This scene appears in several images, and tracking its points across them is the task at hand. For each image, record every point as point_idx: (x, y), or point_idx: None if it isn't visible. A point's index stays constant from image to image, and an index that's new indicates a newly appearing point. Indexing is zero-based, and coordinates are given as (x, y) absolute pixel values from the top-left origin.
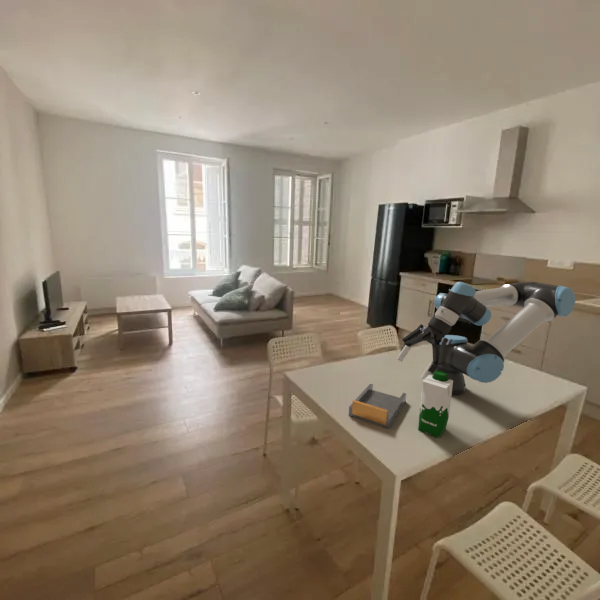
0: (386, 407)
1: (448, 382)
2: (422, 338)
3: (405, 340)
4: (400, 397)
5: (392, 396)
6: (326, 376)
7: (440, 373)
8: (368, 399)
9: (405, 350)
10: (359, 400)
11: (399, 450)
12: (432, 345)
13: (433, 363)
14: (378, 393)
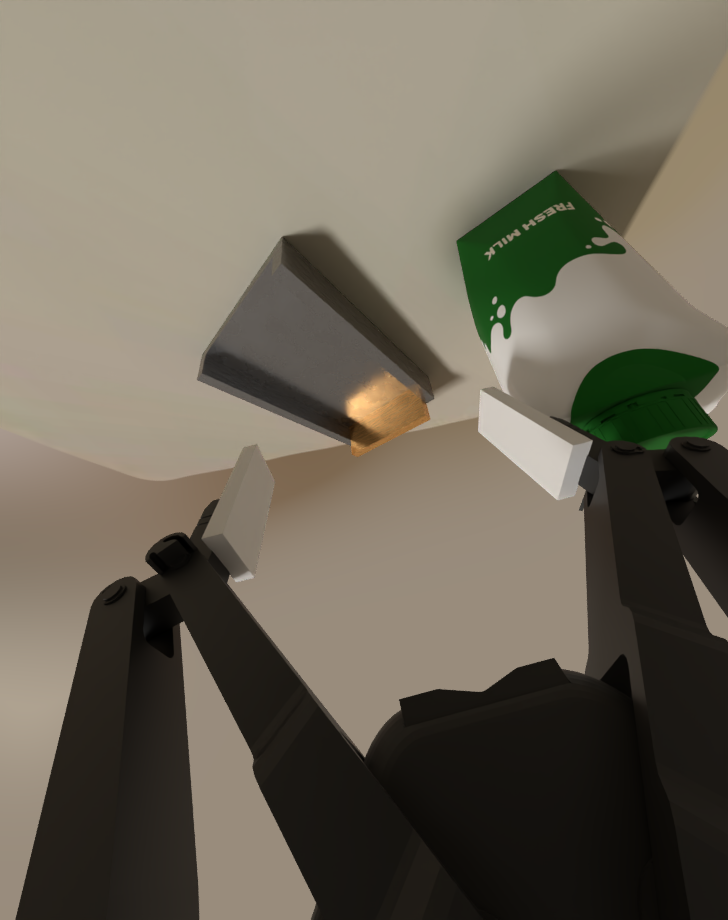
0: (342, 356)
1: (708, 398)
2: (348, 738)
3: (173, 622)
4: (321, 315)
5: (255, 299)
6: (124, 433)
7: (653, 449)
8: (287, 386)
9: (252, 527)
10: (320, 424)
11: (496, 385)
12: (595, 665)
13: (582, 482)
14: (234, 344)
